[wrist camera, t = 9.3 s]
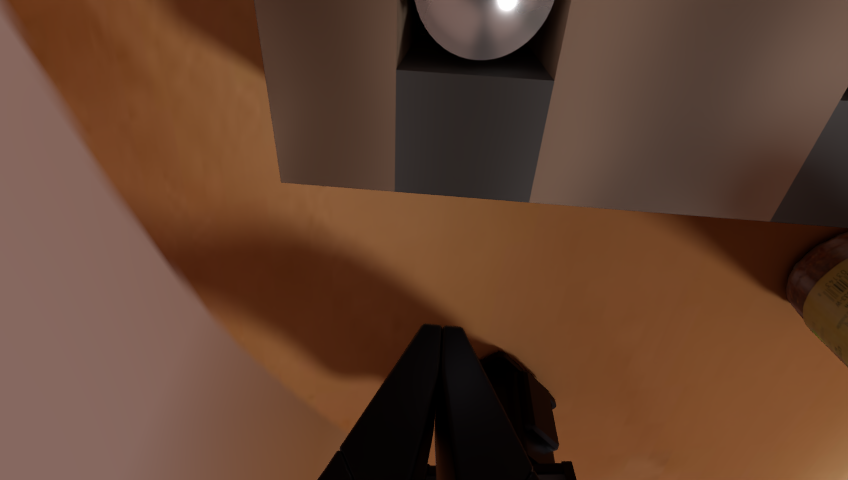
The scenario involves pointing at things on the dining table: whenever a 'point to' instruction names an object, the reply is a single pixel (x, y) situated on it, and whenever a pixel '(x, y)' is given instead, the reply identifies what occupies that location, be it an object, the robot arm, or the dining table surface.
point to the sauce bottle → (824, 293)
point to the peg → (482, 24)
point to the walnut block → (573, 106)
